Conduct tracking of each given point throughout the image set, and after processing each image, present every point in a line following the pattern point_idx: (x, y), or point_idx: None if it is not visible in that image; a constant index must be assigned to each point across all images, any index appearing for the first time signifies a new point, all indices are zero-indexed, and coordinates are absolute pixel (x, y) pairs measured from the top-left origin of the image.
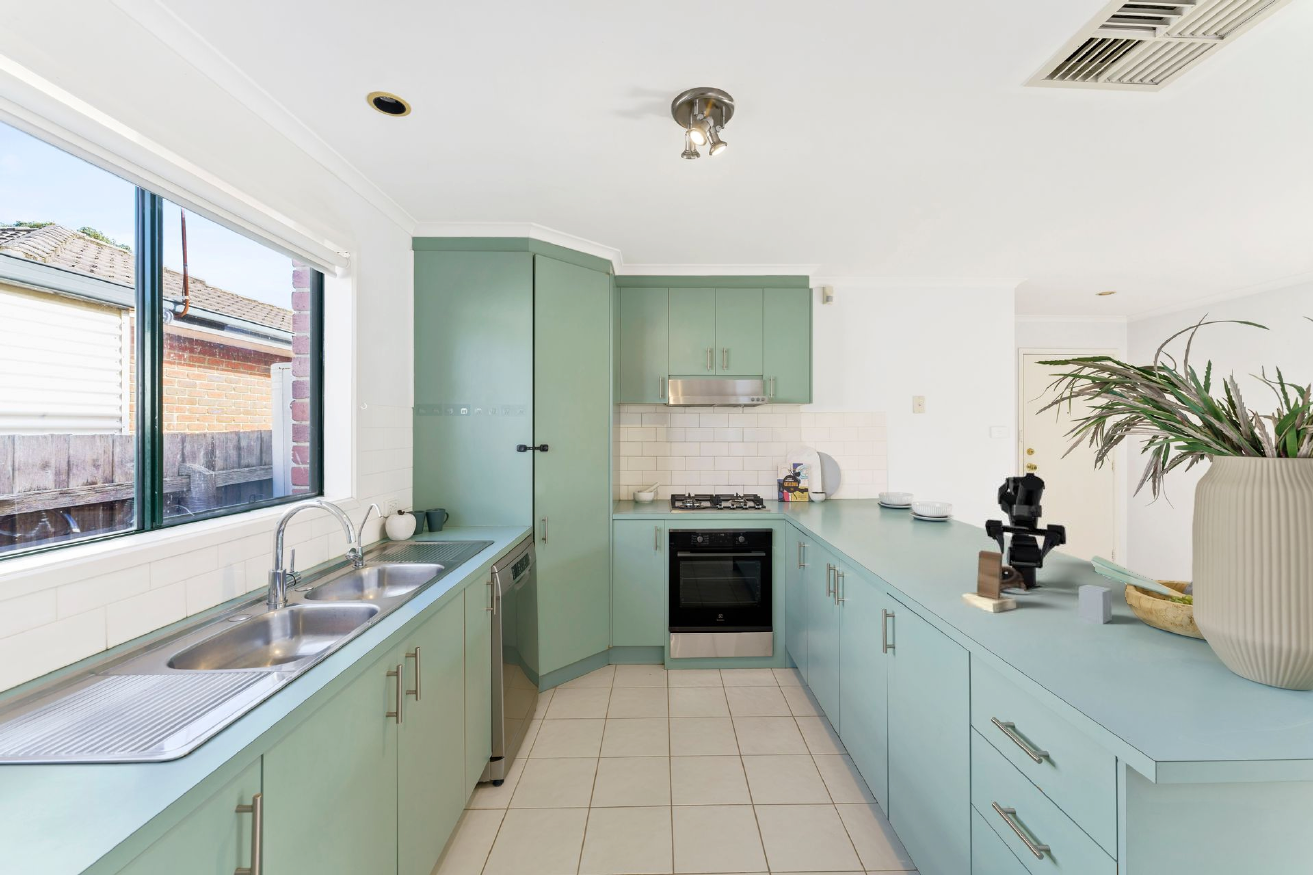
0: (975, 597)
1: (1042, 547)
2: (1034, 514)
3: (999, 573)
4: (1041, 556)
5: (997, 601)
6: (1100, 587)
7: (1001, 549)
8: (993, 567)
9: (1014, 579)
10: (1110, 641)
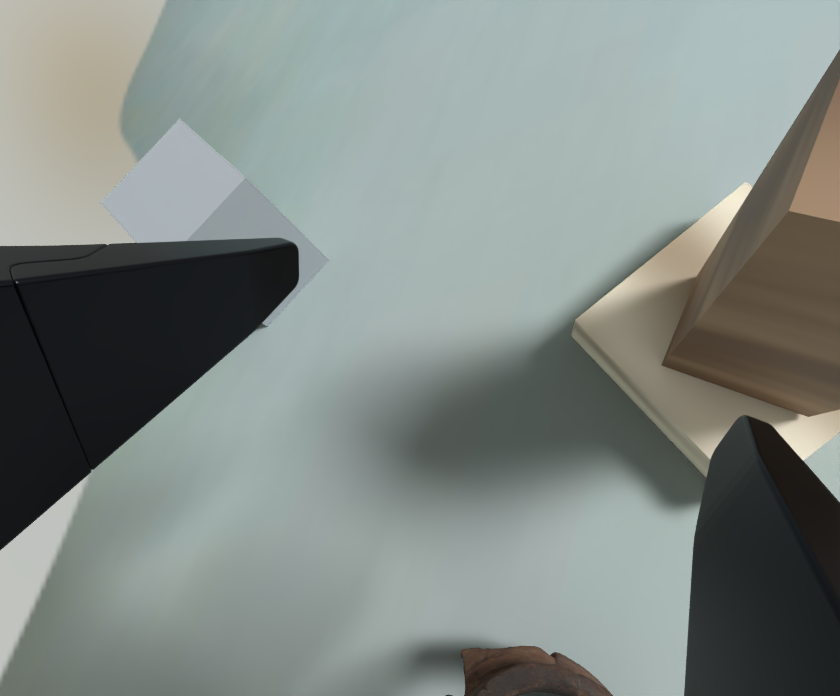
0: None
1: (180, 256)
2: None
3: (751, 199)
4: (290, 242)
5: (706, 234)
6: (133, 217)
7: (780, 443)
8: None
9: (488, 681)
10: (346, 31)
